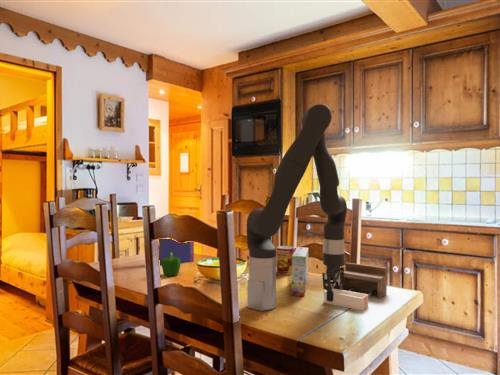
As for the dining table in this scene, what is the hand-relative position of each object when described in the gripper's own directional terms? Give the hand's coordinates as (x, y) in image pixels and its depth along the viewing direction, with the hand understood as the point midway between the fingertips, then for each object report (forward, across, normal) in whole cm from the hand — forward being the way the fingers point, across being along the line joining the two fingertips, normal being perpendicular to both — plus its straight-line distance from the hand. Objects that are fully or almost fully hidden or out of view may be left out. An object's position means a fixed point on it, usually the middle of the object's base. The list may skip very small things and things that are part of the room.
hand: (333, 298), depth 136 cm
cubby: (+1, +17, -4) cm, 18 cm away
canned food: (+1, +27, +36) cm, 45 cm away
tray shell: (+1, 0, -4) cm, 5 cm away
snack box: (+1, +8, +18) cm, 19 cm away
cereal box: (+1, +12, +93) cm, 93 cm away
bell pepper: (+1, -8, +75) cm, 75 cm away
